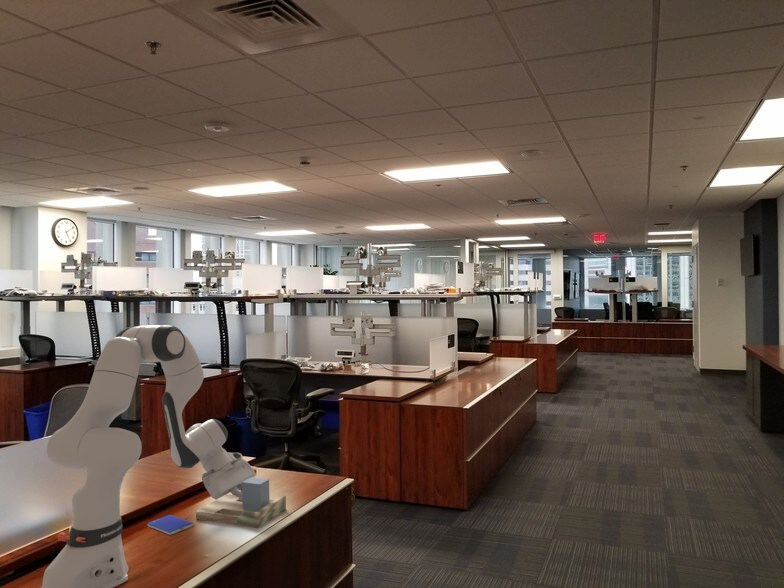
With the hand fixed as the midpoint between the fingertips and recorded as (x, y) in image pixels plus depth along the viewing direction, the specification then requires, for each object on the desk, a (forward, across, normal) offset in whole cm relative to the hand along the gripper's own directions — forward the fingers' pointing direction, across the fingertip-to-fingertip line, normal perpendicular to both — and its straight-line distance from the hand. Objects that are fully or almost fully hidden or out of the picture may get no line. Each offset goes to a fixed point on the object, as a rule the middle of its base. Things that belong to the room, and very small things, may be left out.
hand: (245, 498), depth 190 cm
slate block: (+5, 0, -1) cm, 5 cm away
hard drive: (-8, -15, +17) cm, 24 cm away
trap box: (+3, 0, +5) cm, 6 cm away
